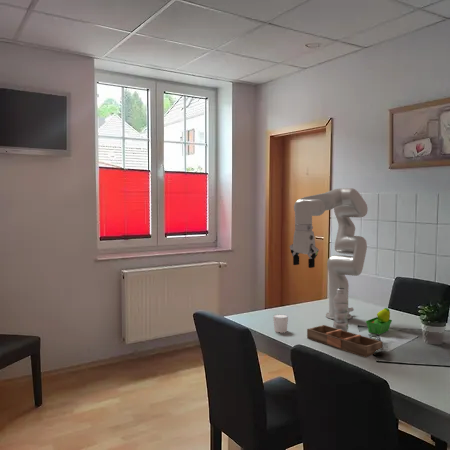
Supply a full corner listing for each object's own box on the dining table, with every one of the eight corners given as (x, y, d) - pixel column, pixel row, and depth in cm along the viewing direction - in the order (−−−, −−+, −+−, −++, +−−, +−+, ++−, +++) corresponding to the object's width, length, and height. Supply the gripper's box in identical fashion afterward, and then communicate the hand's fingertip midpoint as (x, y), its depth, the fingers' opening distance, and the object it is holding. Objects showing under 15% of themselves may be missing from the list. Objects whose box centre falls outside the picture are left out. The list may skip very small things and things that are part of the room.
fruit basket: (376, 327, 215) (377, 303, 215) (395, 331, 209) (395, 306, 208) (364, 332, 207) (365, 307, 207) (383, 336, 201) (383, 311, 200)
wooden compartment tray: (323, 333, 205) (323, 323, 205) (382, 351, 181) (382, 340, 181) (306, 338, 199) (306, 328, 199) (364, 357, 174) (365, 346, 174)
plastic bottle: (345, 335, 203) (346, 290, 202) (331, 333, 206) (331, 288, 205) (350, 331, 208) (350, 288, 207) (335, 329, 212) (336, 286, 211)
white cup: (271, 329, 213) (271, 314, 213) (286, 328, 214) (286, 313, 213) (274, 333, 206) (274, 318, 206) (289, 332, 207) (289, 317, 206)
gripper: (323, 228, 199) (324, 267, 201) (296, 226, 214) (296, 263, 215) (311, 229, 195) (311, 269, 196) (284, 227, 209) (284, 264, 211)
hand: (303, 266), depth 206 cm, fingers open, 9 cm apart
